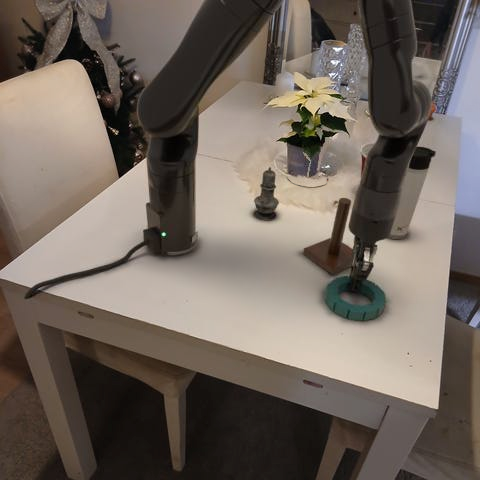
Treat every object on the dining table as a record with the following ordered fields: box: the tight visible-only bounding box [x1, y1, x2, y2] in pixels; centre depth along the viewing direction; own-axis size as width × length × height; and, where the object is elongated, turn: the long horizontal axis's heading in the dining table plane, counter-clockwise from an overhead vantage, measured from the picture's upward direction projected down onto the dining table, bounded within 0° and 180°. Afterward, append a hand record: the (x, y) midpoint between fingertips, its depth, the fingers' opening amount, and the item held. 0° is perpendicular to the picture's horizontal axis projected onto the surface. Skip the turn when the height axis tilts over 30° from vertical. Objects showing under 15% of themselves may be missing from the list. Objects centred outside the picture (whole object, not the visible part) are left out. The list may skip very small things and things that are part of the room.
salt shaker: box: [253, 166, 280, 221], centre depth 111 cm, size 6×6×12 cm
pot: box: [428, 102, 437, 120], centre depth 173 cm, size 8×8×7 cm
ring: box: [324, 275, 387, 322], centre depth 91 cm, size 11×11×2 cm
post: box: [302, 197, 353, 276], centre depth 98 cm, size 9×9×14 cm
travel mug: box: [387, 146, 437, 240], centre depth 105 cm, size 6×7×20 cm
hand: (353, 286), depth 94 cm, fingers closed on ring, 2 cm apart
